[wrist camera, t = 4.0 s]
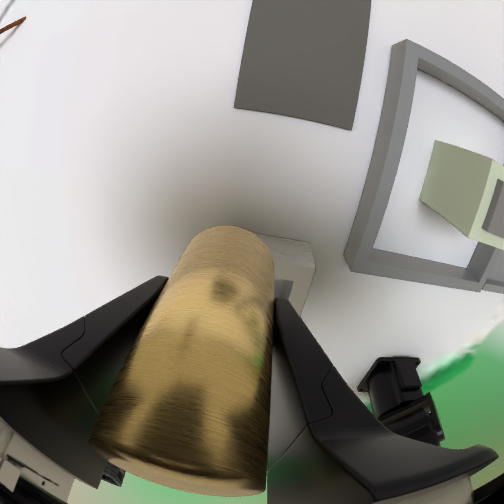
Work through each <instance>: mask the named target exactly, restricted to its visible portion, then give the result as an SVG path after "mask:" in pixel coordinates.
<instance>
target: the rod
mask: <svg viewBox="0 0 504 504" xmlns="http://www.w3.org/2000/svg"><path fill="white" fill-rule="evenodd" d="M274 278H275V265H274V259H273V256H272V254H271V252H270V250H269V248H268V247H267V245H266V244H265V243H264V242H263V241H262V240H261V239H260V238H259V237H258V236H256V235H255V234H253V233H252V232H250V231H248V230H245V229H243V228H240V227H235V226H215V227H212V228H209V229H206V230H204V231H202V232H201V233H199V234H198V235H197V236H195V237H194V238H193V240H192V241H191V242H190V244H189V245H188V247H187V249H186V250H185V252H184V254H183V255H182V257H181V259H180V260H179V262H178V264H177V265H176V267H175V269H174V271H173V272H172V274H171V276H170V277H169V279H168V281H167V283H166V284H165V286H164V288H163V290H162V291H161V293H160V295H159V297H158V299H157V300H156V302H155V304H154V306H153V308H152V310H151V311H150V313H149V315H148V317H147V319H146V321H145V322H144V324H143V326H142V328H141V330H140V332H139V334H138V336H137V338H136V340H135V341H134V343H133V345H132V347H131V349H130V351H129V353H128V355H127V357H126V359H125V361H124V363H123V365H122V367H121V369H120V371H119V373H118V375H117V377H116V379H115V382H114V384H113V386H112V388H111V390H110V392H109V394H108V396H107V399H106V401H105V403H104V405H103V407H102V409H101V412H100V414H99V416H98V418H97V421H96V423H95V425H94V428H93V430H92V432H91V435H90V437H89V439H88V444H89V445H90V447H91V448H92V449H93V450H94V451H95V452H96V453H98V454H99V455H100V456H101V457H103V458H104V459H106V460H107V461H109V462H110V463H112V464H114V465H116V466H117V467H119V468H121V469H123V470H125V471H127V472H129V473H131V474H134V475H136V476H138V477H141V478H143V479H146V480H148V481H151V482H154V483H157V484H160V485H163V486H167V487H170V488H174V489H177V490H182V491H186V492H191V493H197V494H204V495H211V496H225V497H238V496H240V497H241V496H251V495H256V494H260V493H262V492H264V491H265V489H266V475H267V460H268V444H269V426H270V406H271V383H272V357H273V324H274Z"/></svg>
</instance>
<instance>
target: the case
mask: <svg viewBox="0 0 504 504" xmlns="http://www.w3.org/2000/svg"><path fill="white" fill-rule="evenodd" d="M417 69H419V70H422V71H424V72H426V73H428V74H430V75H432V76H434V77H435V78H437V79H439V80H441V81H443V82H445V83H447V84H448V85H450V86H452V87H454V88H455V89H457V90H459V91H460V92H462V93H464V94H465V95H467V96H468V97H470V98H472V99H473V100H475V101H476V102H478V103H479V104H481V105H482V106H484V107H485V108H487V109H488V110H489V111H491V112H492V113H494V114H495V115H496V116H498V117H499V118H500V119H502V120H503V121H504V99H503V98H502V97H501V96H500V95H498V94H497V93H496V92H495V91H493V90H492V89H491V88H489V87H488V86H487V85H485V84H484V83H482V82H481V81H480V80H478V79H477V78H475V77H474V76H472V75H471V74H469V73H468V72H466V71H465V70H463V69H462V68H460V67H458V66H457V65H455V64H454V63H452V62H450V61H448V60H447V59H445V58H443V57H441V56H440V55H438V54H436V53H434V52H432V51H430V50H428V49H427V48H425V47H423V46H421V45H419V44H416V43H414V42H412V41H410V40H408V39H405V40H403V41H401V42H399V43H397V44H394V45H392V50H391V58H390V65H389V72H388V79H387V85H386V91H385V97H384V102H383V108H382V113H381V118H380V123H379V128H378V132H377V137H376V142H375V146H374V150H373V154H372V159H371V163H370V167H369V171H368V174H367V178H366V182H365V186H364V189H363V193H362V197H361V200H360V204H359V207H358V211H357V214H356V217H355V220H354V224H353V227H352V230H351V233H350V236H349V240H348V243H347V246H346V249H345V252H344V257H345V259H346V262H347V264H348V266H349V269H350V271H351V272H357V273H363V274H369V275H375V276H382V277H388V278H394V279H400V280H406V281H413V282H419V283H425V284H431V285H437V286H444V287H450V288H456V289H463V290H469V291H475V292H480V291H481V289H482V290H485V291H491V292H497V293H503V294H504V250H502V249H499V248H496V247H493V246H491V245H488V244H485V243H482V242H478V245H477V247H476V249H475V252H474V254H473V256H472V258H471V260H470V263H469V265H468V267H467V269H466V268H462V267H457V266H453V265H448V264H444V263H439V262H435V261H430V260H426V259H421V258H416V257H411V256H407V255H402V254H397V253H392V252H387V251H382V250H377V249H372V248H373V245H374V242H375V240H376V237H377V234H378V231H379V228H380V225H381V222H382V219H383V216H384V213H385V210H386V207H387V204H388V200H389V197H390V194H391V190H392V187H393V183H394V180H395V176H396V173H397V169H398V165H399V161H400V157H401V153H402V149H403V145H404V141H405V136H406V132H407V127H408V122H409V117H410V112H411V106H412V101H413V95H414V88H415V81H416V74H417Z"/></svg>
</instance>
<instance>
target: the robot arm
mask: <svg viewBox="0 0 504 504" xmlns="http://www.w3.org/2000/svg"><path fill="white" fill-rule="evenodd" d="M168 279H169V278H168V277H164V276H156V277H154V278H152V279H150V280H149V281H147V282H145V283H143V284H141V285H139V286H137V287H136V288H134V289H132V290H130V291H128V292H126V293H125V294H123V295H121V296H119V297H117V298H115V299H114V300H112V301H110V302H108V303H106V304H105V305H103V306H101V307H99V308H97V309H96V310H94V311H92V312H90V313H89V314H87V315H85V316H83V317H81V318H80V319H78V320H76V321H74V322H72V323H70V324H69V325H67V326H65V327H63V328H61V329H59V330H57V331H54V332H52V333H50V334H48V335H46V336H44V337H41V338H39V339H37V340H35V341H33V342H30V343H28V344H26V345H24V346H21V347H18V348H0V504H68V503H66V502H67V499H68V496H69V493H70V490H71V487H72V484H73V482H74V479H77V480H79V481H81V482H83V483H85V484H87V485H89V486H91V487H93V488H96V489H98V487H99V484H100V481H101V478H102V475H103V472H104V469H105V467H106V464H107V460H106V459H104V458H103V457H101V456H100V455H99V454H98V453H96V452H95V451H94V450H93V449H92V448H91V447H90V445H89V444H88V439H89V437H90V435H91V432H92V430H93V428H94V425H95V423H96V421H97V418H98V416H99V414H100V412H101V409H102V407H103V405H104V403H105V401H106V399H107V396H108V394H109V392H110V390H111V388H112V386H113V384H114V382H115V379H116V377H117V375H118V373H119V371H120V369H121V367H122V365H123V363H124V361H125V359H126V357H127V355H128V353H129V351H130V349H131V347H132V345H133V343H134V341H135V340H136V338H137V336H138V334H139V332H140V330H141V328H142V326H143V324H144V322H145V321H146V319H147V317H148V315H149V313H150V311H151V310H152V308H153V306H154V304H155V302H156V300H157V299H158V297H159V295H160V293H161V291H162V290H163V288H164V286H165V284H166V283H167V281H168ZM420 362H421V361H420V359H419V358H380V359H378V360H377V361H376V363H375V364H374V365H373V367H372V368H371V370H370V371H369V373H368V374H367V375H366V377H365V378H364V379H363V381H362V382H361V384H360V385H359V386H358V388H357V390H358V392H368V393H369V397H370V402H371V407H372V411H373V414H372V413H371V411H370V410H369V409H368V408H367V407H366V406H365V405H364V404H363V402H362V401H361V400H360V399H359V398H358V397H357V396H356V394H355V393H354V392H353V391H352V390H351V388H350V387H349V386H348V385H347V383H346V382H345V381H344V379H343V378H342V376H341V375H340V374H339V372H338V371H337V369H336V368H335V367H334V366H333V364H332V362H331V361H330V359H329V358H328V356H327V355H326V354H325V352H324V351H323V349H322V348H321V346H320V345H319V343H318V342H317V341H316V339H315V338H314V336H313V335H312V333H311V332H310V330H309V329H308V328H307V326H306V325H305V323H304V322H303V320H302V319H301V317H300V316H299V315H298V313H297V312H296V310H295V309H294V307H293V306H292V304H291V303H290V302H289V300H288V299H286V298H280V297H276V298H275V300H274V324H273V357H272V383H271V406H270V426H269V444H268V460H267V471H268V472H267V504H504V473H503V474H501V475H500V476H498V477H497V478H495V479H493V480H492V481H490V482H488V483H487V484H485V485H483V486H481V487H479V488H478V489H476V490H474V491H473V489H472V483H471V479H470V476H472V475H473V474H475V473H477V472H478V471H480V470H481V469H483V468H485V467H486V466H488V465H489V464H491V463H492V462H493V461H495V460H496V459H497V458H498V457H499V456H498V454H497V453H496V452H495V451H494V450H493V449H491V448H489V447H486V446H483V445H475V446H472V447H469V448H466V449H459V450H457V449H448V448H443V447H441V446H440V442H441V441H443V440H445V436H444V432H443V428H442V425H441V421H440V418H439V414H438V412H437V409H436V406H435V403H434V401H433V399H432V396H431V394H430V392H428V393H426V395H423V393H422V390H421V386H422V384H421V382H420V379H419V376H418V374H417V371H416V368H417V366H418V365H419V364H420ZM430 411H431V413H429V412H430Z"/></svg>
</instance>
